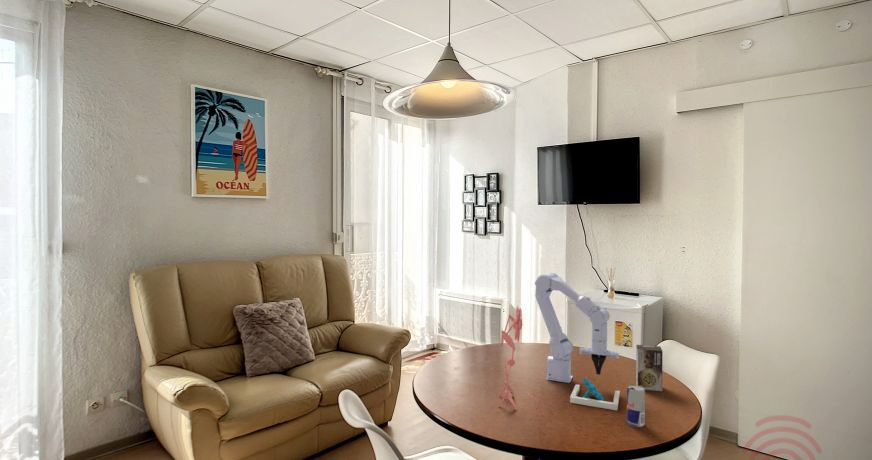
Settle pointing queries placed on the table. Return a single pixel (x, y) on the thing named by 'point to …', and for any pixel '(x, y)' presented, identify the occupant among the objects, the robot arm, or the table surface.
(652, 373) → the coffee box
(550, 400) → the table surface
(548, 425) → the table surface
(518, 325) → the figurine
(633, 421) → the energy drink
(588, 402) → the bracket
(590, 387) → the gear
